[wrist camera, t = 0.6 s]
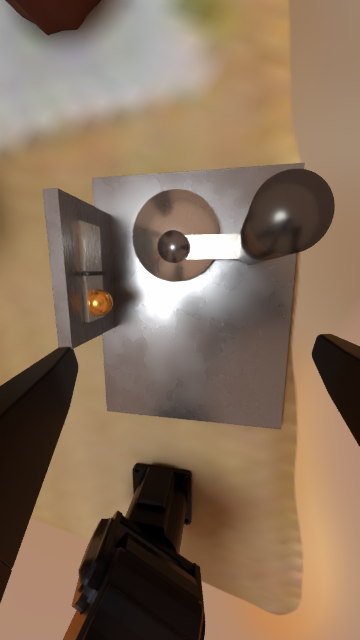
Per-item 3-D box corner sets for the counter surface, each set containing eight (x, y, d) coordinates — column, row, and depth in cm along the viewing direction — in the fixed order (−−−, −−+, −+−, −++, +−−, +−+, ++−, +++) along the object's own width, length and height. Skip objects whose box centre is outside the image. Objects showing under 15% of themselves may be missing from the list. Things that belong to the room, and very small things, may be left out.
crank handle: (266, 281, 20) (324, 296, 8) (138, 281, 22) (40, 292, 10) (272, 188, 18) (352, 47, 7) (136, 196, 20) (19, 95, 9)
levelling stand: (278, 421, 23) (305, 497, 16) (112, 404, 26) (64, 462, 18) (299, 169, 19) (352, 97, 11) (99, 183, 22) (29, 133, 14)
